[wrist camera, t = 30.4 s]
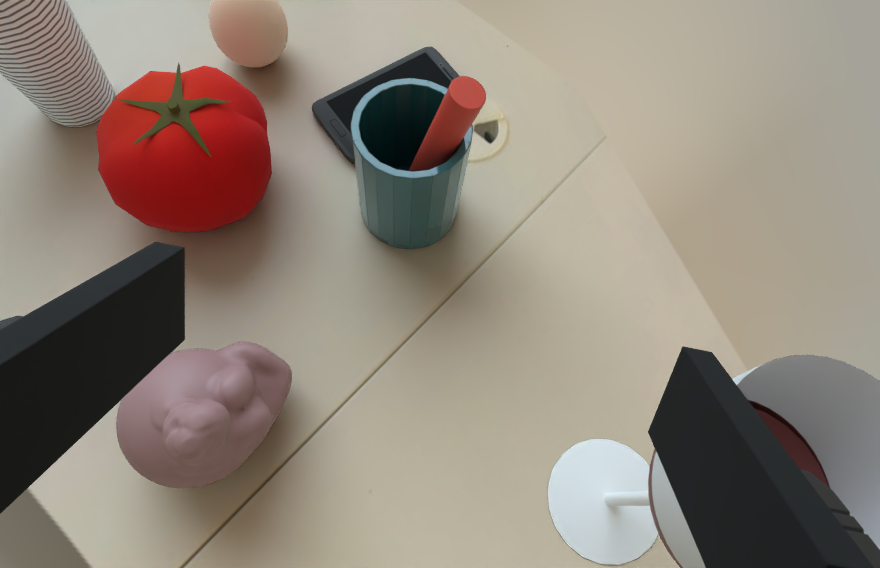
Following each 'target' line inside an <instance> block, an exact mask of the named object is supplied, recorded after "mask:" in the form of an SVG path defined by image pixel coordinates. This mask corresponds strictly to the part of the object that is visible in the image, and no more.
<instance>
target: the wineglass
mask: <svg viewBox="0 0 880 568" xmlns="http://www.w3.org/2000/svg"><path fill="white" fill-rule="evenodd" d="M732 380H733V381H734V382H735V384H736V385H737V386H738V388H739V389H740V390H741V392H742V393H743V394H744V396H745V397H746V398H747V400H748V401H749V402H750V404H751V405H752V406H753V408H754V409H755V410H756V412H757V413H758V414H759V416H760V417H761V418H762V420H763V421H764V422H765V424H766V425H767V426H768V428H769V429H770V430H771V432H772V433H773V434H774V436H775V437H776V438H777V440H778V441H779V442H780V443H781V445H782V446H783V447H784V449H785V450H786V451H787V453H788V454H789V455H790V457H791V458H792V459H793V461H794V462H795V463H796V465H797V466H798V467H799V469H800V470H805V471H810V472H811V473H812V474H813V475H814V476H816V477H817V478H818V479H819V480H820V481H822V482H823V483H824V484H825V485H826V486H828V487H829V488H830V489H831V490H833V491H834V493H835V494H836V495H837V496H838V498H839V499H840V500H841V501H842V503H843V504H844V505H845V506H846V508H847V509H848V510H849V511H850V516H853V517H854V518H855V519H856V520H857V522H858V523H859V524H860V525H861V527H862V528H863V529H864V534H868V535H869V537H870V538H871V539H872V541H873V542H874V543H875V544H876V546H877V547H878V548H879V549H880V381H879V380H877V379H876V378H874V377H872V376H871V375H869V374H868V373H866V372H865V371H863V370H861V369H858V368H856V367H854V366H852V365H850V364H847V363H845V362H842V361H838V360H835V359H832V358H828V357H822V356H814V355H794V356H787V357H783V358H779V359H775V360H772V361H770V362H767V363H765V364H762V365H760V366H758V367H756V368H753V369H751V370H749V371H747V372H745V373H742V374H740V375H738V376H736V377H734V378H732ZM548 504H549V510H550V513H551V516H552V519H553V522H554V525H555V527H556V529H557V530H558V532H559V533H560V535H561V536H562V538H563V539H564V541H565V542H566V544H567V545H569V546H570V547H571V548H572V549H574V550H575V551H576V552H577V553H578V554H580V555H581V556H582V557H584V558H587V559H589V560H592V561H594V562H597V563H599V564H611V565H621V564H624V563H627V562H629V561H632V560H635V559H638V558H639V557H640V556H641V555H642V554H643V553H645V552H646V551H647V550H648V549H649V548H650V547H651V546H652V544H653V543H654V541H655V539H656V537H657V535H658V534H659V536H660V538H661V540H662V542H663V543H664V545H665V547H666V549H667V550H668V552H669V554H670V555H671V556H672V558H673V559H674V560H675V561H676V563H677V564H678V565H679V567H680V568H706V567H705V565H704V562H703V560H702V558H701V555H700V553H699V551H698V548H697V546H696V544H695V541H694V539H693V536H692V534H691V532H690V529H689V527H688V525H687V522H686V520H685V518H684V515H683V513H682V511H681V508H680V506H679V504H678V501H677V499H676V496H675V494H674V492H673V489H672V487H671V485H670V482H669V480H668V478H667V475H666V473H665V471H664V468H663V466H662V464H661V461H660V459H659V456H658V454H657V452H656V449H655V450H654V453H653V456H652V460H651V464H650V467H649V465H648V464H647V463H646V461H645V460H644V459H643V457H641V456H640V455H639V454H637V453H636V452H635V451H633V450H632V449H631V448H630V447H628V446H626V445H624V444H621V443H618V442H616V441H613V440H611V439H590V440H587V441H583V442H580V443H577V444H575V445H574V446H573V447H571V448H570V449H569V450H567V451H566V452H565V453H563V454H562V456H561V457H560V459H559V460H558V462H557V463H556V465H555V466H554V468H553V470H552V474H551V478H550V481H549V485H548Z"/></svg>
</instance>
